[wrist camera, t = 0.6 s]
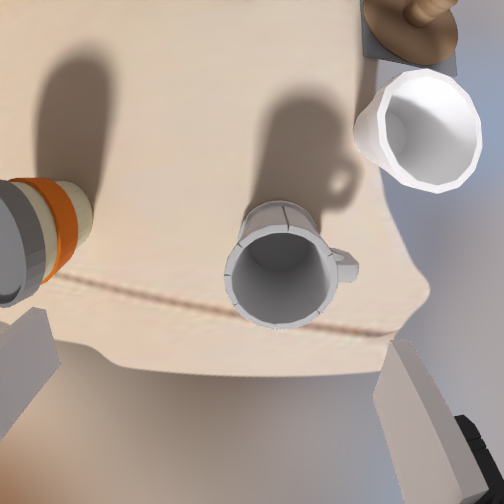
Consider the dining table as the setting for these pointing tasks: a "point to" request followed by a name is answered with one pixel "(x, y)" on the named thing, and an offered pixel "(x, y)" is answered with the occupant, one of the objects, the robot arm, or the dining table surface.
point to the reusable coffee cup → (38, 232)
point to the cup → (284, 267)
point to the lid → (413, 28)
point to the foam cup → (421, 131)
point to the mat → (379, 52)
